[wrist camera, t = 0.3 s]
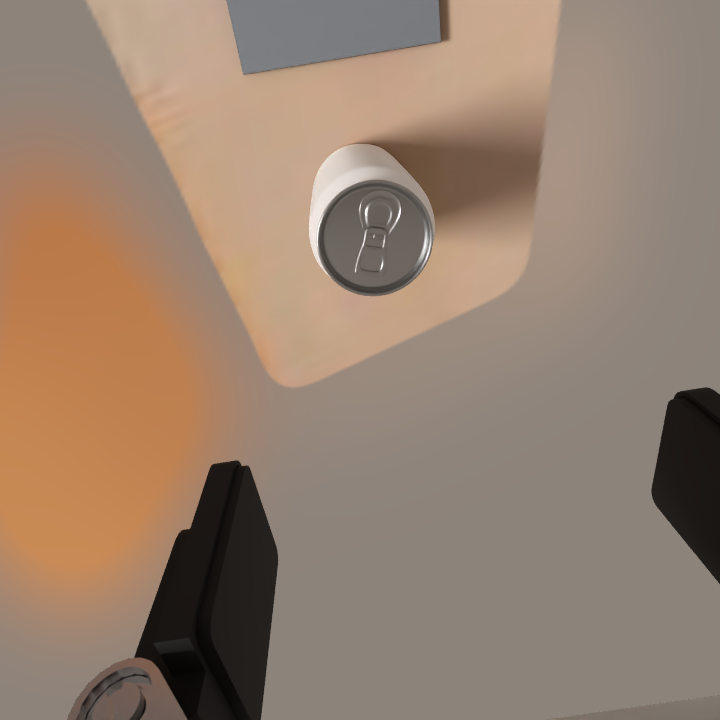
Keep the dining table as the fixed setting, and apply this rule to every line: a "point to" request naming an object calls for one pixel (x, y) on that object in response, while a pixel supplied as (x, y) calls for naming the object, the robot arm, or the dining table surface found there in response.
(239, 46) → the mat
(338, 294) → the dining table surface
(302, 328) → the dining table surface
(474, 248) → the dining table surface
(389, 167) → the can
